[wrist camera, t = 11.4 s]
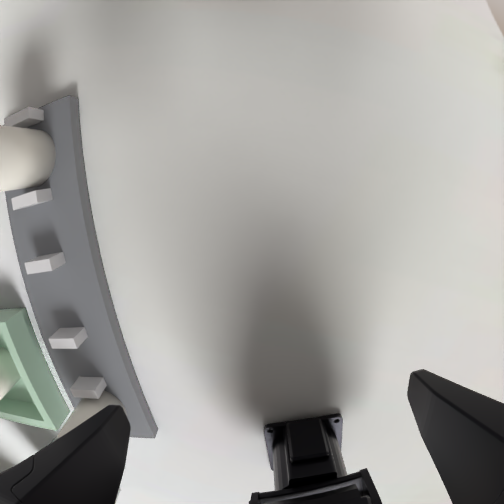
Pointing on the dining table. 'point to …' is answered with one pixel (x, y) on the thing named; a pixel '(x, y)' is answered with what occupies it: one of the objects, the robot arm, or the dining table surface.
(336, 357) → the dining table surface
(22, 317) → the tray
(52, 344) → the block
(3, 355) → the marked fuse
